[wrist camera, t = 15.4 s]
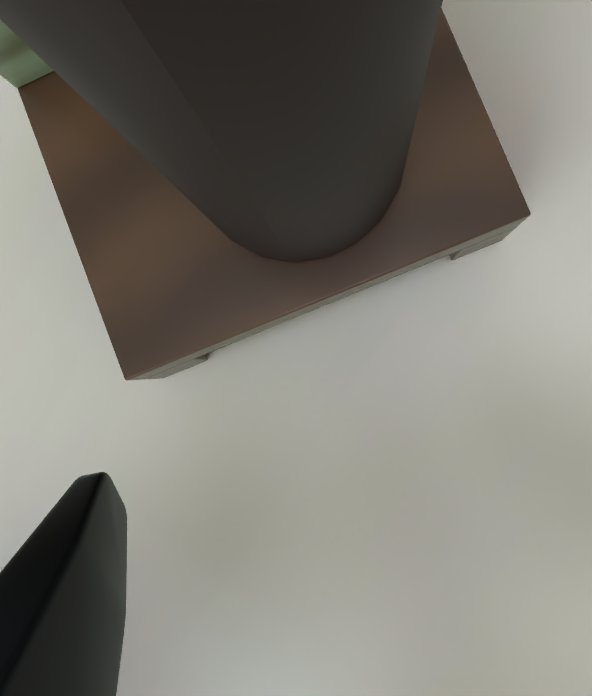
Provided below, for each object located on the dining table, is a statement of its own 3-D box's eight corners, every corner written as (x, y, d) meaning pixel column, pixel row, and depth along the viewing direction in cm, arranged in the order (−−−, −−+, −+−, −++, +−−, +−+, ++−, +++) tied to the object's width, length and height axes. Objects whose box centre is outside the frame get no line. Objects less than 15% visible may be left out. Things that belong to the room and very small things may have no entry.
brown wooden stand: (502, 240, 20) (627, 131, 11) (162, 378, 22) (9, 389, 12) (380, -45, 21) (397, -377, 12) (60, 106, 22) (-157, -82, 13)
